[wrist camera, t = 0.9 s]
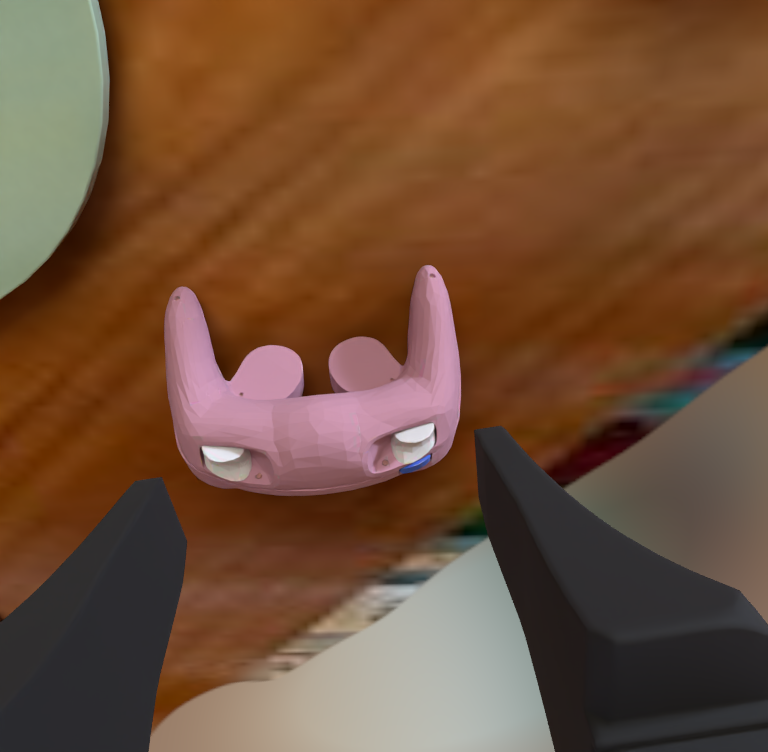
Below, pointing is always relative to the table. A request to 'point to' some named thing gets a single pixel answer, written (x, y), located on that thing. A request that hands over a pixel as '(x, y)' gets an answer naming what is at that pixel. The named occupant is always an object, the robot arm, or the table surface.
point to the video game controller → (315, 404)
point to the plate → (48, 126)
